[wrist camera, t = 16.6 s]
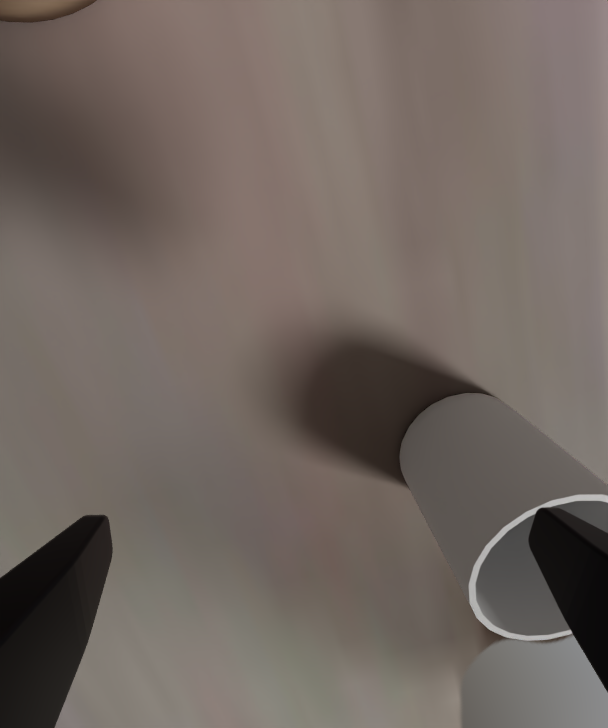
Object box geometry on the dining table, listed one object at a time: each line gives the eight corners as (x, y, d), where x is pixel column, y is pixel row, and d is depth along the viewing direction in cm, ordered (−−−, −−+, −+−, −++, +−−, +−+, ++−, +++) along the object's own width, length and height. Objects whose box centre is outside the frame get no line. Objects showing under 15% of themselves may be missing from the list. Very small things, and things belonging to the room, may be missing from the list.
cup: (464, 363, 22) (585, 457, 14) (568, 461, 25) (719, 587, 17) (370, 455, 24) (429, 590, 15) (479, 538, 27) (577, 687, 18)
